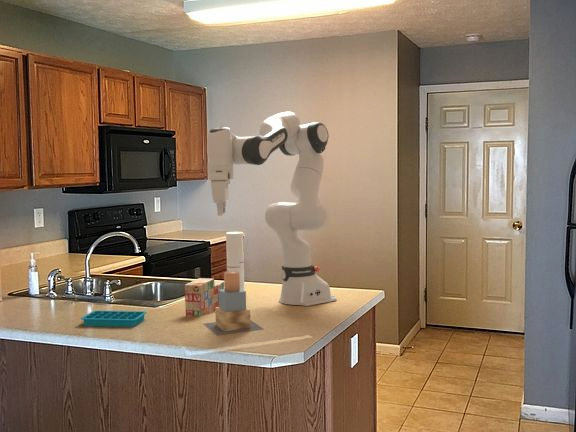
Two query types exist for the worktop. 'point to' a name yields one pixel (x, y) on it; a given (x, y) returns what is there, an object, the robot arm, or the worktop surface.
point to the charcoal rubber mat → (219, 331)
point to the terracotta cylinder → (232, 281)
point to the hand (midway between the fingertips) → (221, 214)
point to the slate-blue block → (232, 300)
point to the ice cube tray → (114, 318)
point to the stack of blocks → (202, 296)
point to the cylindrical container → (235, 254)
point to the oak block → (232, 319)
